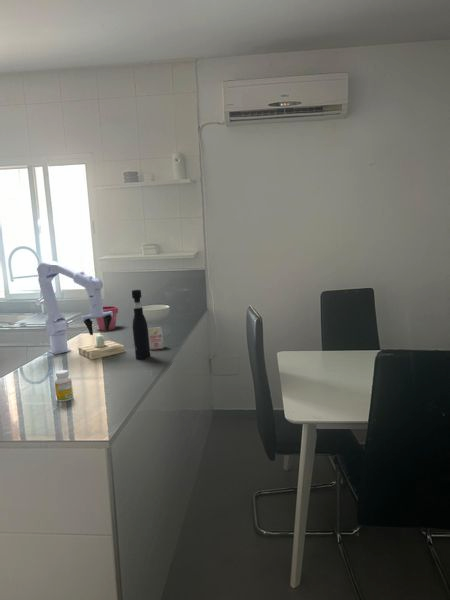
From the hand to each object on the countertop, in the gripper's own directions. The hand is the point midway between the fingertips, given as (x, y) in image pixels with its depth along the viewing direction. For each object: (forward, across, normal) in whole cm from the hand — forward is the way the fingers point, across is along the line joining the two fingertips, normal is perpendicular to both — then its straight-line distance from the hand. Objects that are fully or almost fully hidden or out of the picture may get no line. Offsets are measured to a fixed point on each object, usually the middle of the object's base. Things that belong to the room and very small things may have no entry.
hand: (99, 333), depth 219 cm
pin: (+9, 0, 0) cm, 9 cm away
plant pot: (+10, +25, +52) cm, 58 cm away
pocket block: (+9, 0, 0) cm, 9 cm away
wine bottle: (+10, +9, -25) cm, 28 cm away
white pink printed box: (+10, +21, -15) cm, 28 cm away
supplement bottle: (+10, -34, -51) cm, 62 cm away
